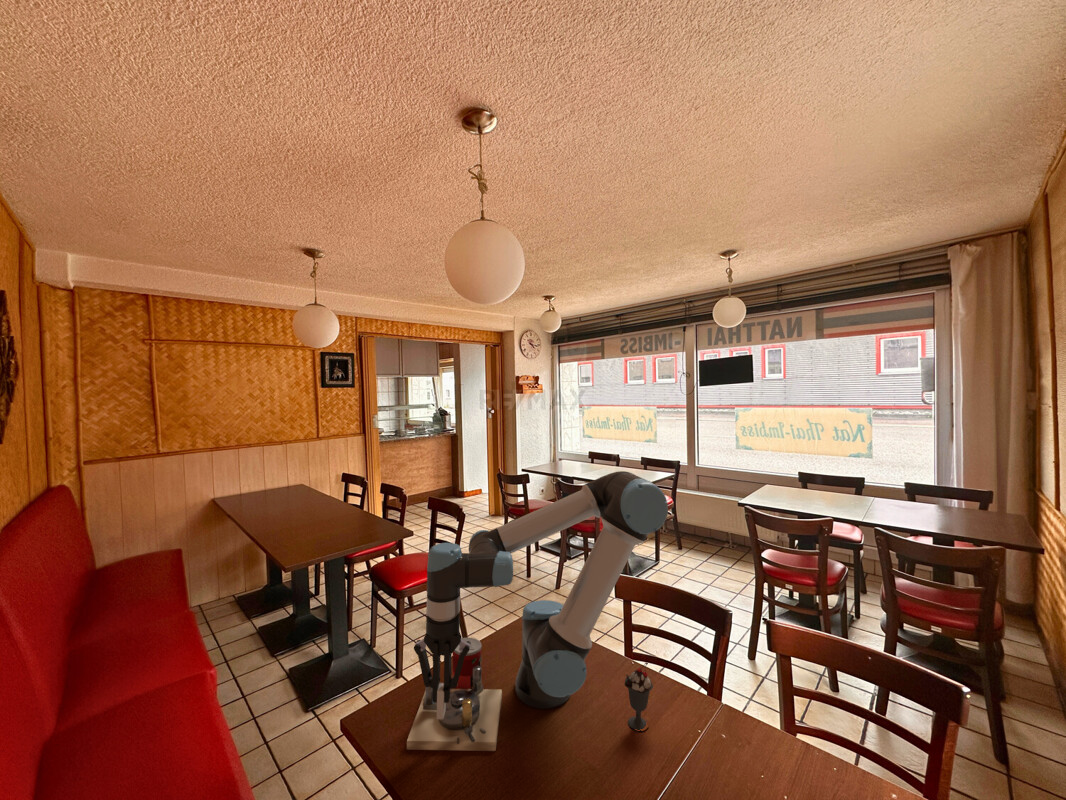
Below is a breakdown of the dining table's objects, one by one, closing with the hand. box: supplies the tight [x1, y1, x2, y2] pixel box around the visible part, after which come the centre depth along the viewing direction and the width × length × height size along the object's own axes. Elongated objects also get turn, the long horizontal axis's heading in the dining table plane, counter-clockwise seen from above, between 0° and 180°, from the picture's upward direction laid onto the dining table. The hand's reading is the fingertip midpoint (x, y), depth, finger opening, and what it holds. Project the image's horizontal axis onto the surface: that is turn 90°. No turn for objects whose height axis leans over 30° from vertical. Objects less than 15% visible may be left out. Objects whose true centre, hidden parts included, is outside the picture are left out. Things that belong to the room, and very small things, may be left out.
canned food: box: [452, 637, 483, 689], centre depth 121 cm, size 8×8×11 cm
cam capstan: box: [423, 665, 484, 734], centre depth 106 cm, size 13×16×7 cm
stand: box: [406, 688, 503, 752], centre depth 108 cm, size 20×18×4 cm
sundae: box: [624, 662, 654, 731], centre depth 107 cm, size 7×7×15 cm
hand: (441, 714), depth 102 cm, fingers closed
